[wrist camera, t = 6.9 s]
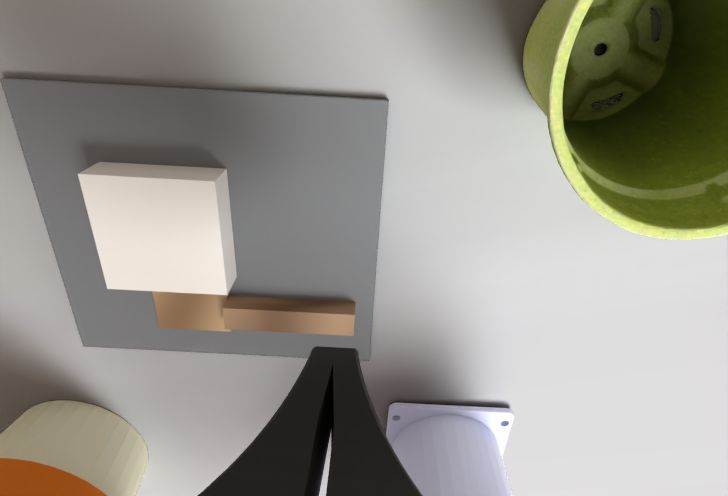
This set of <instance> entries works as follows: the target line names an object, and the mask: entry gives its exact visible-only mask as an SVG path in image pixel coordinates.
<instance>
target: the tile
mask: <svg viewBox="0 0 728 496" xmlns="http://www.w3.org/2000/svg"><path fill="white" fill-rule="evenodd" d="M78 177H79V181H80V185H81V189H82V193H83V197H84V201H85V204H86V208H87V212H88V216H89V220H90V224H91V228H92V231H93V235H94V239H95V243H96V247H97V251H98V255H99V259H100V262H101V266H102V270H103V274H104V278H105V282H106V286H107V289H118V290H138V291H157V292H176V293H195V294H214V295H228V293H229V291H230V289H231V287H232V285H233V283H234V281H235V279H236V277H237V272H236V261H235V251H234V240H233V230H232V219H231V209H230V198H229V188H228V177H227V169H223V168H205V167H187V166H169V165H151V164H133V163H114V162H98V163H96V164H95V165H93V166H91V167H89V168H87V169H86V170H84V171H82V172H80V173H78Z"/></svg>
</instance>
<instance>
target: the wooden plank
mask: <svg viewBox="0 0 728 496" xmlns="http://www.w3.org/2000/svg"><path fill="white" fill-rule="evenodd" d="M152 293H153V298H154V303H155V308H156V313H157V318H158V323H159V328H168V329H188V330H207V331H227V332H230V331H231V330H248V331H268V332H287V333H307V334H326V335H346V336H354V320H355V302H345V301H326V300H307V299H288V298H268V297H249V296H230V295H229V293H228V295H214V294H195V293H176V292H157V291H152Z"/></svg>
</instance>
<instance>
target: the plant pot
mask: <svg viewBox="0 0 728 496" xmlns="http://www.w3.org/2000/svg"><path fill="white" fill-rule="evenodd" d="M651 8H653V9H655V10H656V11H657V13H658V15H659V17H660V22H661V34H660V37H659V39H658V41H657V42H653V41H652V38H651V37H652V20H651V15H652V14H651V13H650V9H651ZM601 43H604V44H606V46H607V50H606V52H605V53H604V54H603V55H601V56H596V55H595V53H594V49H595V47H596V46H597V45H598V44H601ZM523 71H524V77H525V81H526V84H527V87H528V89H529V91H530V93H531V95H532V97H533V99H534V100H535V101H536V103H537V104H538V106H539V107H540V108H541V110H542V111H543V112H544V114H545V115H546V116H547V119H548V128H549V133H550V138H551V142H552V146H553V150H554V152H555V155H556V158H557V160H558V163H559V165H560V167H561V169H562V171H563V173H564V175H565V176H566V178H567V179H568V181H569V183H570V184H571V186H572V187H573V189H574V190H575V191H576V193H577V194H578V195H579V196H580V197H581V199H582V200H583V201H584V202H585V203H586V204H587V205H588V206H589V207H591V208H592V209H593V210H594V211H595V212H597V213H598V214H599V215H600V216H602V217H603V218H605V219H607V220H608V221H610V222H612V223H614V224H616V225H618V226H620V227H622V228H624V229H626V230H628V231H631V232H634V233H637V234H641V235H645V236H649V237H654V238H661V239H701V238H710V237H716V236H722V235H727V234H728V0H546V1H545V3H544V4H543V6H542V7H541V9H540V10H539V12H538V14H537V16H536V18H535V20H534V22H533V24H532V26H531V28H530V30H529V32H528V35H527V38H526V41H525V46H524V52H523ZM620 93H623V96H622V97H621V99H620V100H619V101H618V102H616V103H614V104H612V105H610V106H607V107H605V108H602V109H598V110H596V109H593V108H592V104H593V103H596V102H598V101H602V100H607V99H609V98H611V97H614V96H615V95H618V94H620Z"/></svg>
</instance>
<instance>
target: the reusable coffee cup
mask: <svg viewBox="0 0 728 496" xmlns="http://www.w3.org/2000/svg"><path fill="white" fill-rule="evenodd" d="M147 462H148V449H147V447H146V444H145V442H144V440H143V438H142V437H141V435H140V434H139V433H138V432H137V431H136V430H135V428H134V427H133V426H132V425H130V424H129V423H128V422H126V421H125V420H124V419H123V418H121V417H119V416H118V415H116V414H114V413H112V412H110V411H108V410H106V409H103V408H101V407H98V406H95V405H92V404H88V403H84V402H78V401H71V400H55V401H48V402H43V403H40V404H38V405H35V406H33V407H31V408H30V409H28V410H27V411H25V412H24V413H23V414H22V415H21V416H20V417H19V418H18V419H17V420H15V421H14V422H13V423H12V424H11V425H10V426H9V427H8V428H7V429H6V430H4V431H3V432H2V433H1V434H0V496H136V495H137V492H138V489H139V486H140V483H141V481H142V478H143V475H144V472H145V469H146V466H147Z"/></svg>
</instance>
